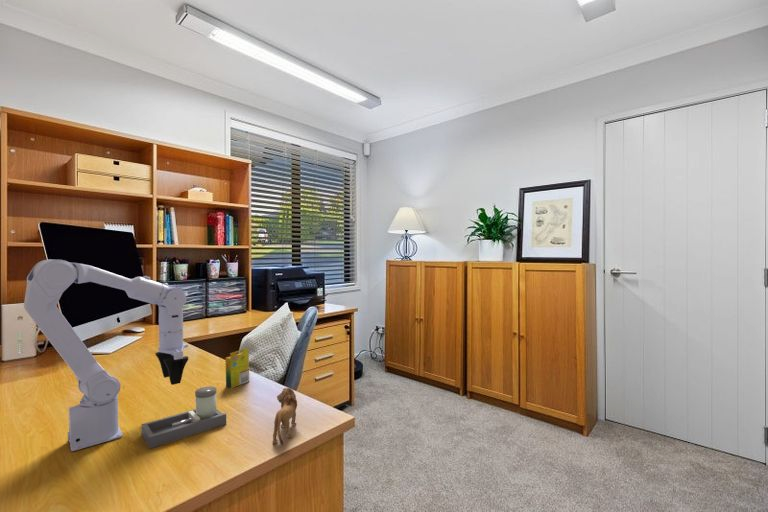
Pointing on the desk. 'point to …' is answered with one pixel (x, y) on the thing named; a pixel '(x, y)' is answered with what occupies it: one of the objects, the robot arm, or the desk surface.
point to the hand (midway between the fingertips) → (171, 380)
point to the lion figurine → (285, 413)
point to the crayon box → (237, 368)
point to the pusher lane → (178, 428)
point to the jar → (206, 402)
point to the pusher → (192, 418)
